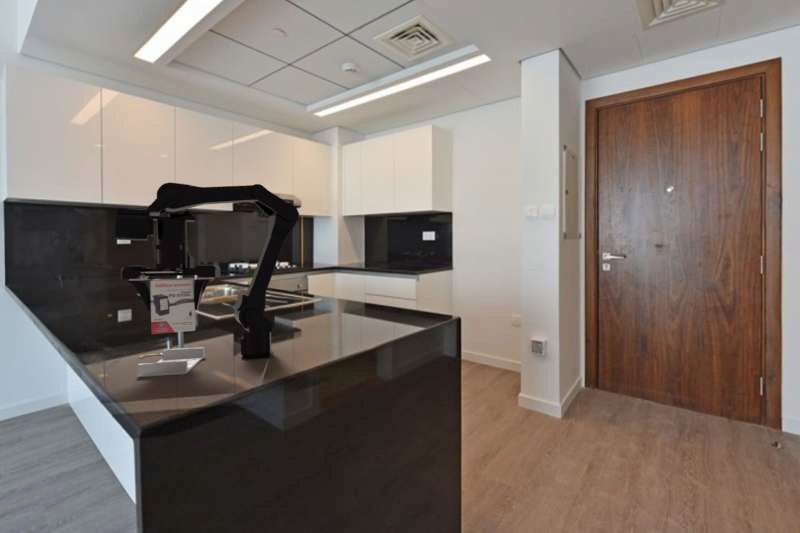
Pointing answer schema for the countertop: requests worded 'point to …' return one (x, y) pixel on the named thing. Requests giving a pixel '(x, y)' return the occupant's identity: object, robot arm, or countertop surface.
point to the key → (149, 355)
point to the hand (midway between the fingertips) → (173, 310)
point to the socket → (173, 362)
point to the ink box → (172, 305)
